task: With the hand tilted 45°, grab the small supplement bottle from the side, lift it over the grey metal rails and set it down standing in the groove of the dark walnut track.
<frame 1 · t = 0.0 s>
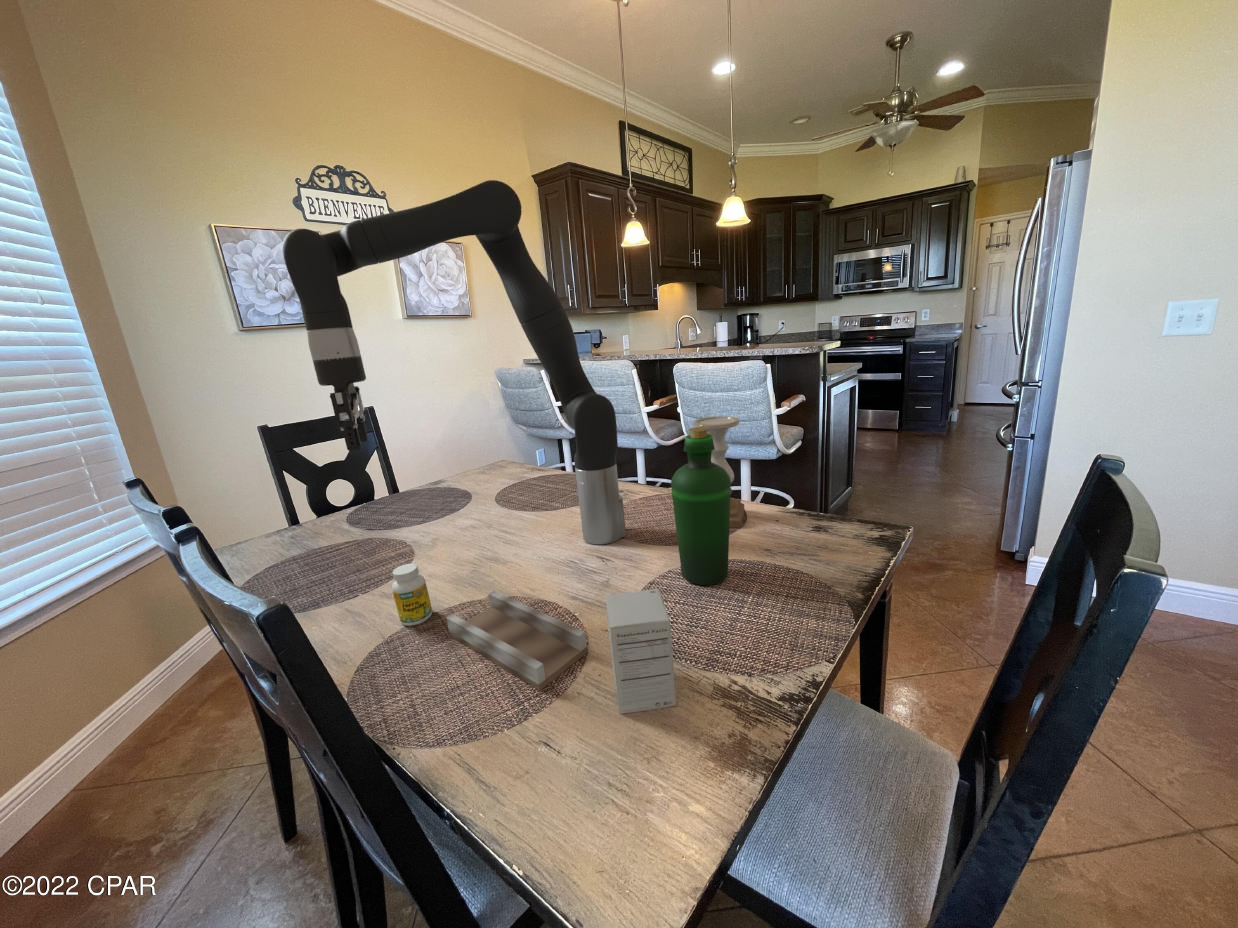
hand: (358, 445, 88), 29 cm above the table, tool pointing down, fingers open, 8 cm apart
walnut track: (515, 643, 74), on the table
bottle: (704, 576, 89), on the table
candle holder: (719, 518, 115), on the table
supplement box: (643, 691, 62), on the table
supplement bottle: (416, 618, 84), on the table
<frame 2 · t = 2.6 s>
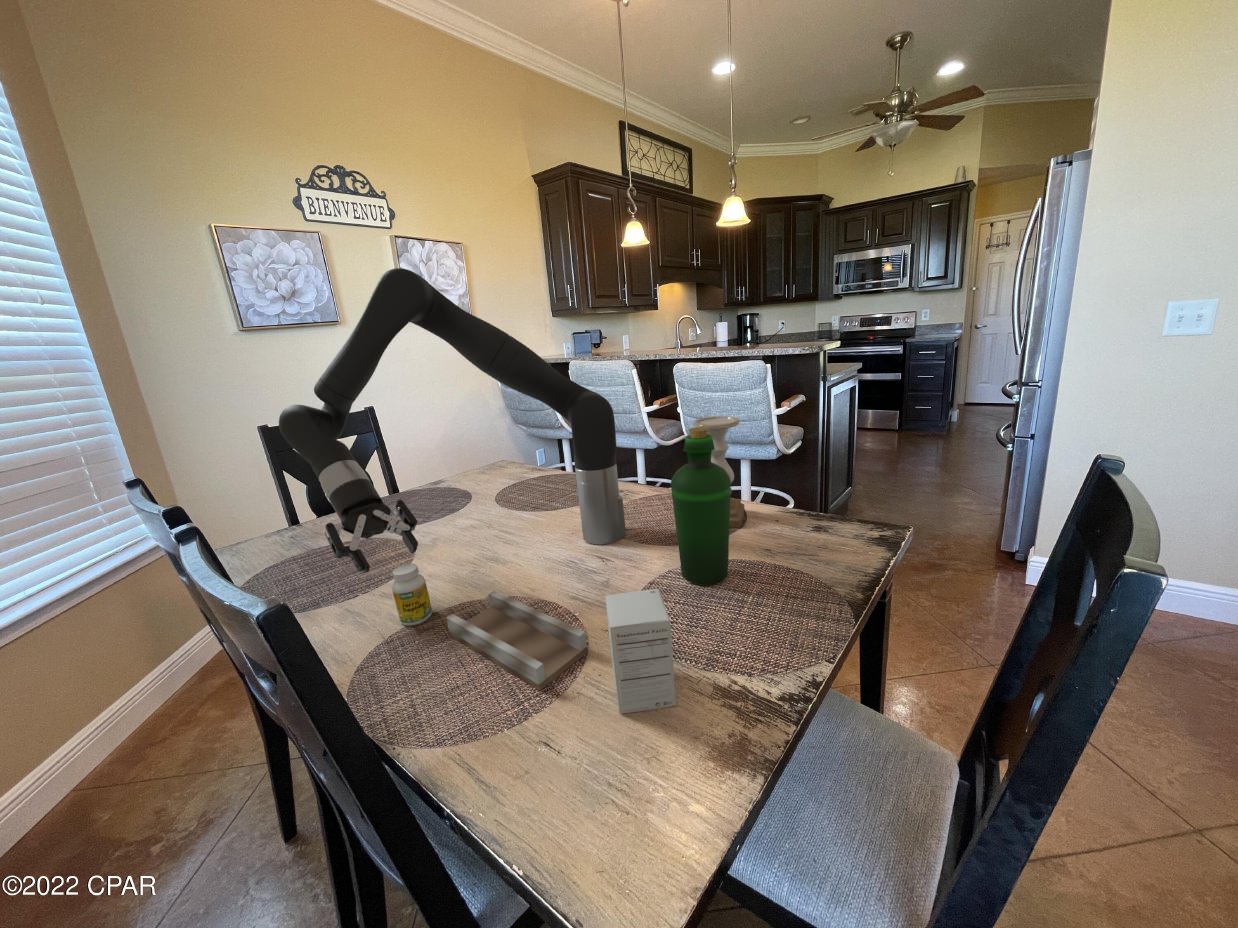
hand: (391, 560, 85), 10 cm above the table, tool tilted 45°, fingers open, 8 cm apart
nothing on the table moved.
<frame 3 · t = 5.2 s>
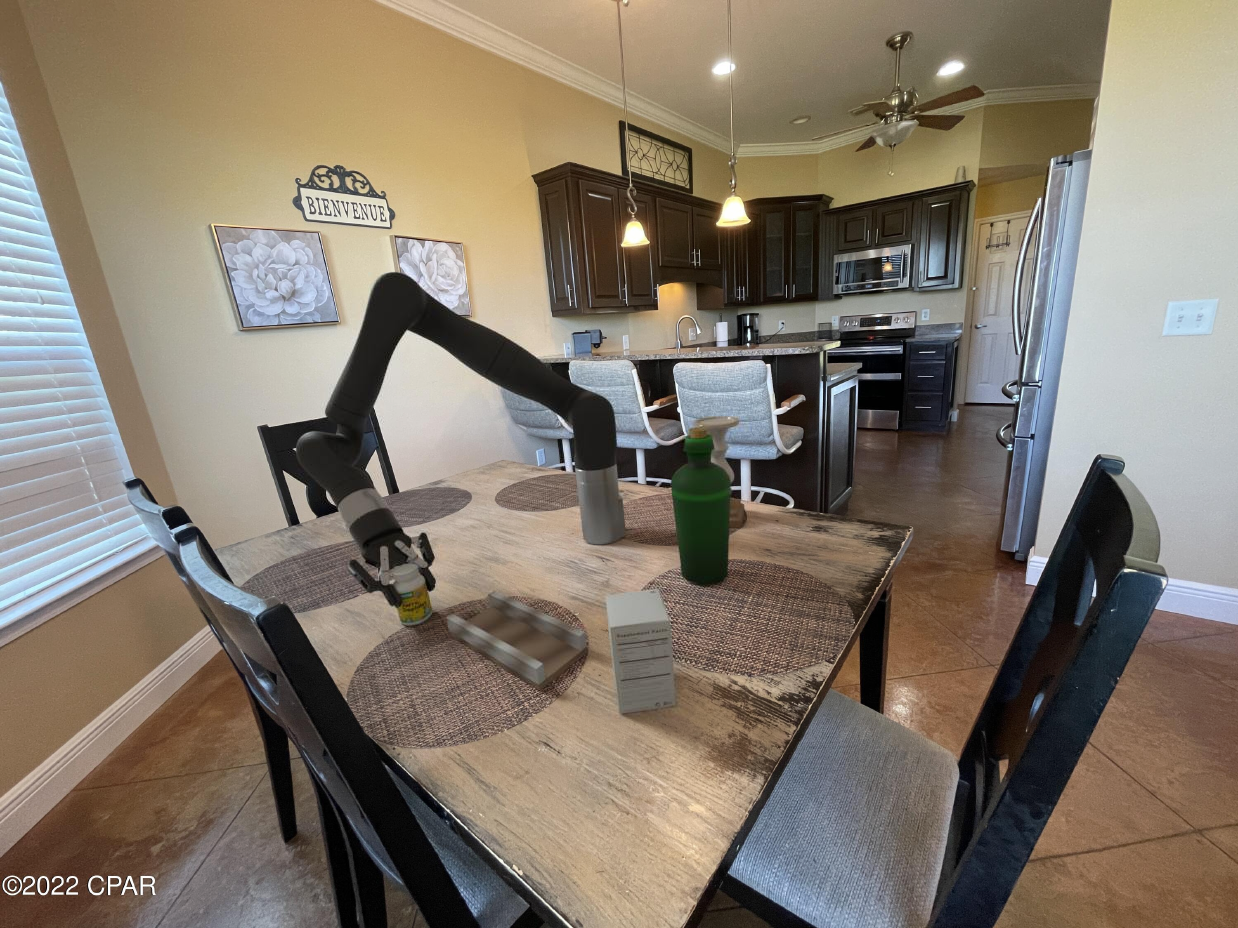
hand: (416, 596, 82), 5 cm above the table, tool tilted 45°, fingers closed on supplement bottle, 5 cm apart
supplement bottle: (416, 618, 84), on the table, touching gripper
everything else where it was.
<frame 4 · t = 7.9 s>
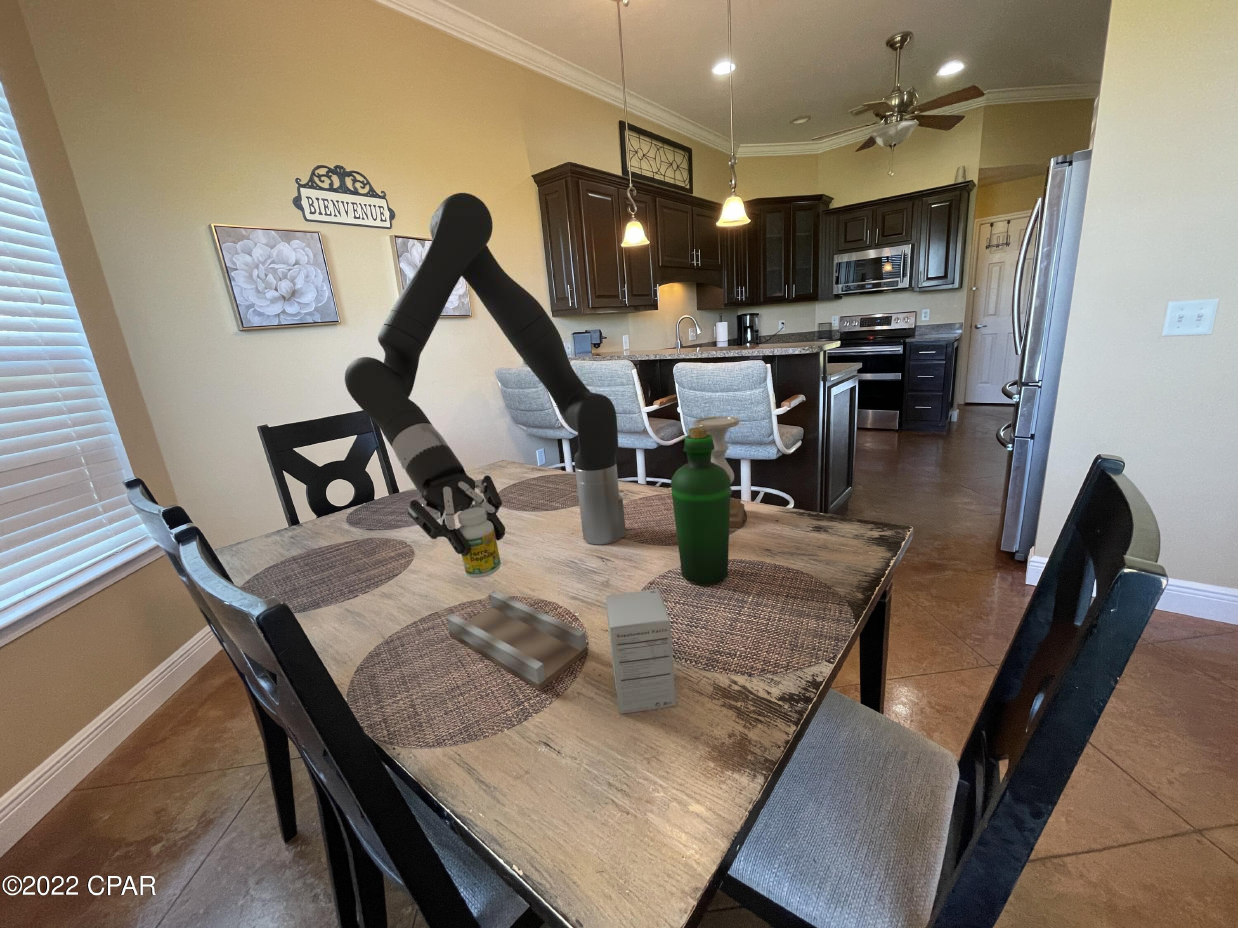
hand: (485, 544, 71), 17 cm above the table, tool tilted 45°, fingers closed on supplement bottle, 5 cm apart
supplement bottle: (483, 571, 73), point 12 cm above the table, touching gripper
everything else where it was.
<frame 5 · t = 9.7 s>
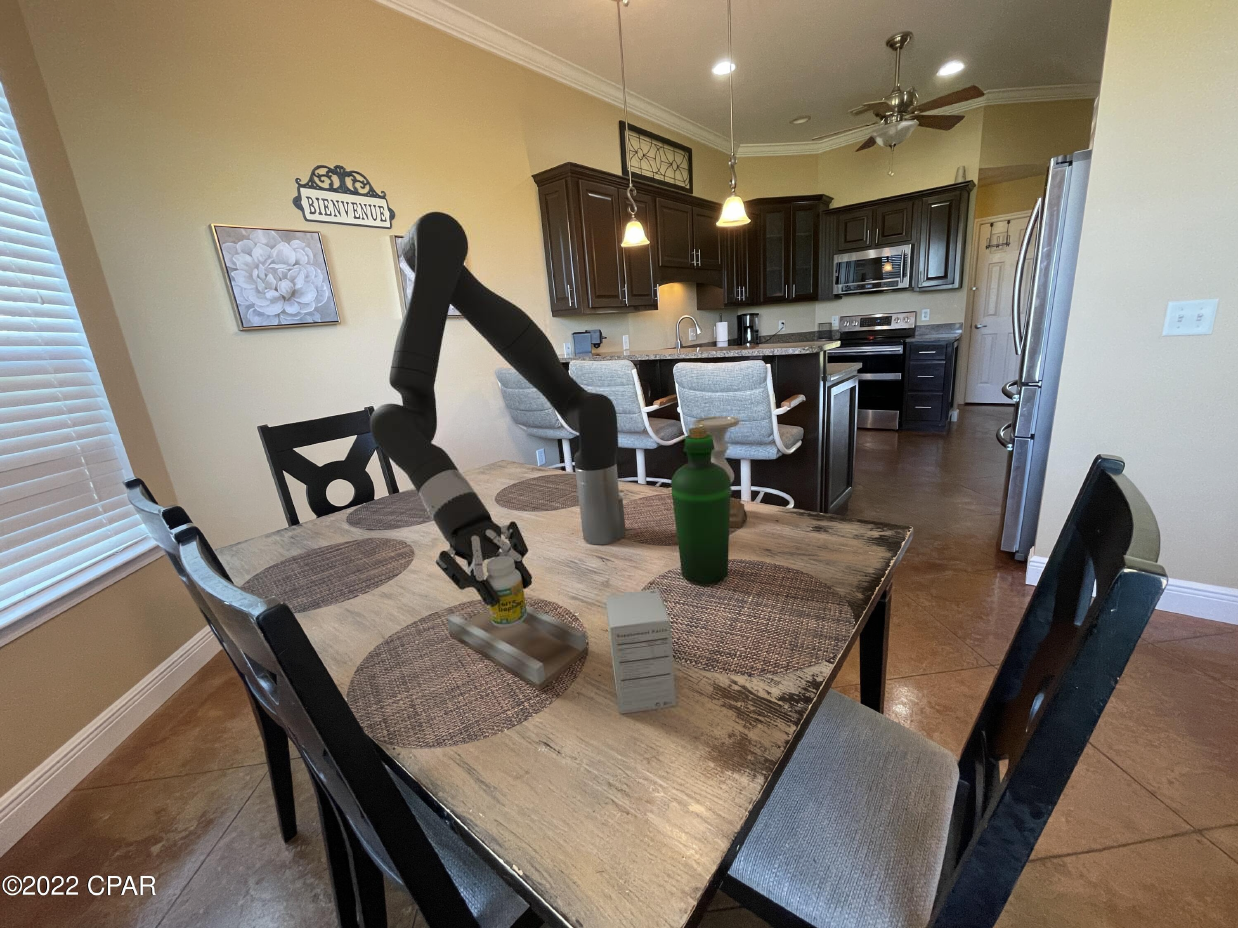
hand: (512, 594, 71), 9 cm above the table, tool tilted 45°, fingers closed on supplement bottle, 5 cm apart
supplement bottle: (509, 619, 73), point 4 cm above the table, touching gripper
everything else where it was.
when the fingers open (7 cm above the table, at t = 11.0 s): supplement bottle drops 1 cm, resting on walnut track.
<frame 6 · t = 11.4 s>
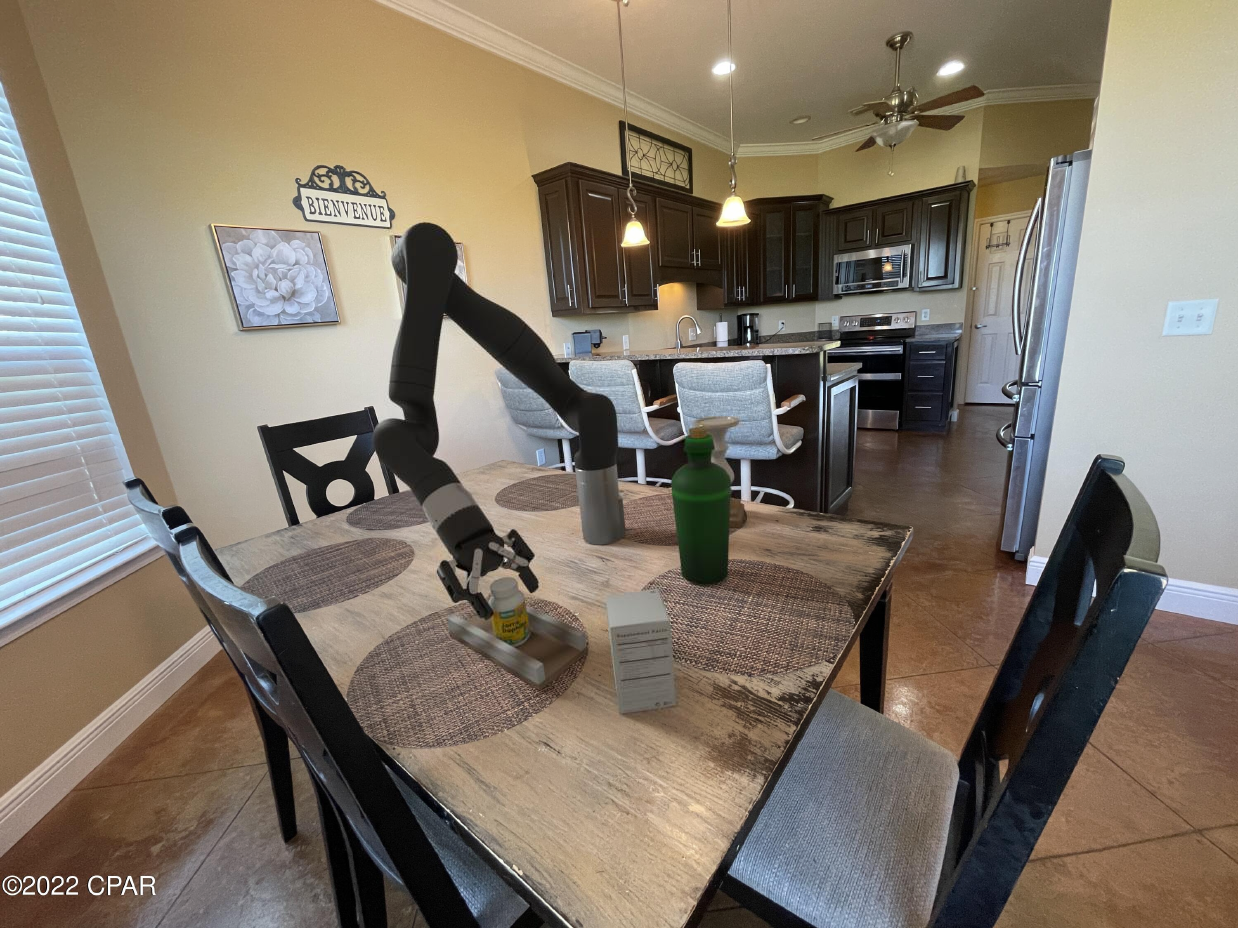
hand: (513, 603, 71), 8 cm above the table, tool tilted 45°, fingers open, 8 cm apart
supplement bottle: (513, 639, 74), point 1 cm above the table, touching walnut track
everything else where it was.
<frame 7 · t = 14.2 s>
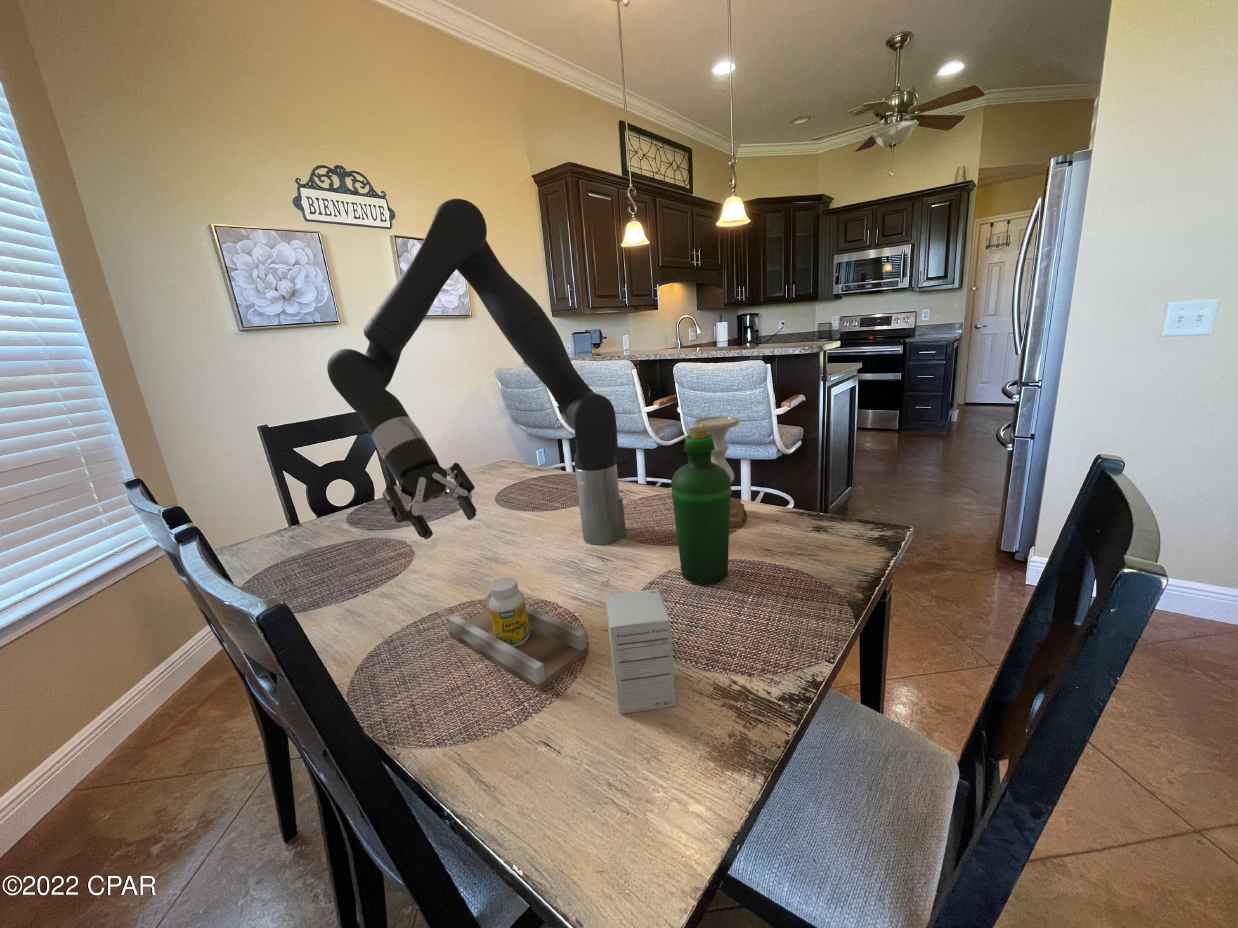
hand: (452, 527, 81), 16 cm above the table, tool tilted 35°, fingers open, 8 cm apart
nothing on the table moved.
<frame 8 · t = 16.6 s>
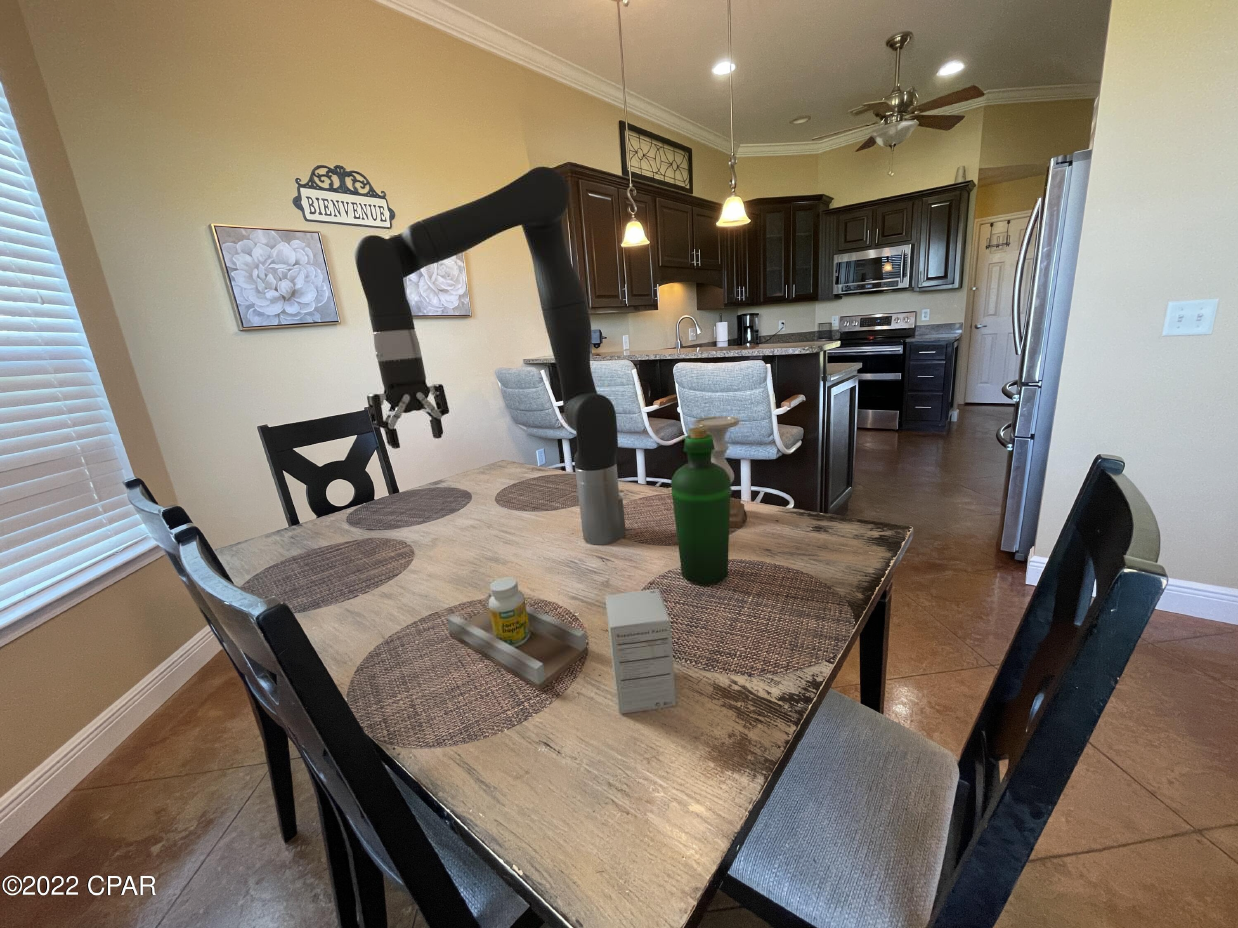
hand: (417, 442, 92), 28 cm above the table, tool pointing down, fingers open, 8 cm apart
nothing on the table moved.
at the end: supplement bottle inside the target area on the walnut track (0.2 cm from its centre), point 0.8 cm above the walnut track's base; supplement bottle tilted 0°; the gripper is holding nothing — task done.
